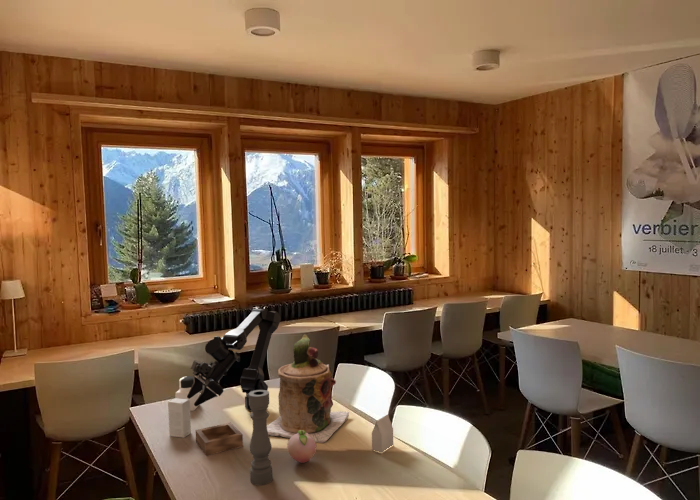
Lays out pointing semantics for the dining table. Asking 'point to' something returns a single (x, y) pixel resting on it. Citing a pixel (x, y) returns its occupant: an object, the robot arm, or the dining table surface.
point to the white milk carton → (382, 434)
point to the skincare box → (179, 417)
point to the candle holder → (260, 438)
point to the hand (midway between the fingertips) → (191, 401)
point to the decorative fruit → (301, 446)
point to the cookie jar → (306, 397)
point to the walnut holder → (219, 438)
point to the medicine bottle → (187, 391)
